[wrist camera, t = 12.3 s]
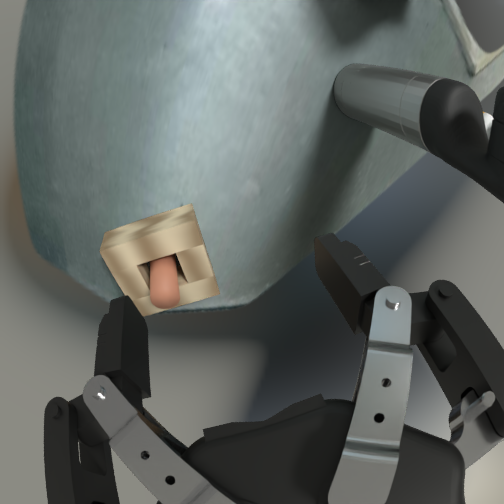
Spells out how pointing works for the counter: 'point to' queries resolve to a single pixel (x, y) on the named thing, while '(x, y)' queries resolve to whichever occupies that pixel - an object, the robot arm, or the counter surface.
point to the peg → (164, 282)
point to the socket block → (156, 246)
